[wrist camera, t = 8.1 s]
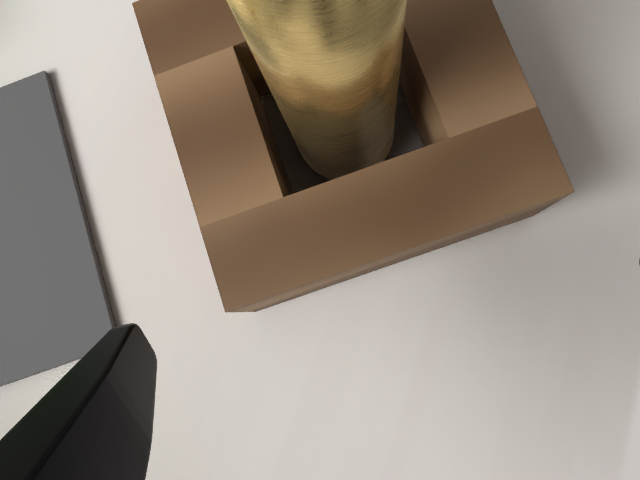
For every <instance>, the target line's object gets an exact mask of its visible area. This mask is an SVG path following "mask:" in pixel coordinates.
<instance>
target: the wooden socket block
mask: <svg viewBox="0 0 640 480" xmlns="http://www.w3.org/2000/svg"><path fill="white" fill-rule="evenodd" d="M132 4H133V8H134V11H135V14H136V18H137V21H138V24H139V28H140V31H141V34H142V37H143V41H144V44H145V47H146V51H147V54H148V57H149V61H150V64H151V67H152V71H153V74H154V77H155V81H156V84H157V87H158V91H159V94H160V97H161V100H162V104H163V107H164V110H165V114H166V117H167V120H168V124H169V127H170V130H171V134H172V137H173V140H174V144H175V147H176V150H177V153H178V157H179V160H180V163H181V167H182V170H183V173H184V177H185V180H186V183H187V187H188V190H189V193H190V197H191V200H192V203H193V207H194V210H195V213H196V216H197V220H198V223H199V226H200V230H201V233H202V236H203V240H204V243H205V246H206V250H207V253H208V256H209V260H210V263H211V266H212V270H213V273H214V276H215V279H216V283H217V286H218V289H219V293H220V296H221V299H222V303H223V306H224V309H225V312H256V311H259V310H262V309H265V308H267V307H270V306H273V305H276V304H279V303H282V302H285V301H288V300H291V299H294V298H296V297H299V296H302V295H305V294H308V293H311V292H314V291H317V290H320V289H323V288H325V287H328V286H331V285H334V284H337V283H340V282H343V281H346V280H349V279H351V278H354V277H357V276H360V275H363V274H366V273H369V272H372V271H375V270H378V269H380V268H383V267H386V266H389V265H392V264H395V263H398V262H401V261H404V260H406V259H409V258H412V257H415V256H418V255H421V254H424V253H427V252H430V251H433V250H435V249H438V248H441V247H444V246H447V245H450V244H453V243H456V242H459V241H462V240H464V239H467V238H470V237H473V236H476V235H479V234H482V233H485V232H488V231H490V230H493V229H496V228H499V227H502V226H505V225H508V224H511V223H514V222H517V221H519V220H522V219H525V218H528V217H531V216H534V215H535V214H537V213H539V212H540V211H542V210H544V209H545V208H547V207H549V206H550V205H552V204H554V203H556V202H557V201H559V200H561V199H562V198H564V197H566V196H567V195H569V194H571V193H573V192H574V190H573V187H572V185H571V183H570V180H569V178H568V176H567V173H566V171H565V169H564V167H563V164H562V162H561V160H560V157H559V155H558V153H557V150H556V148H555V146H554V143H553V141H552V139H551V137H550V134H549V132H548V130H547V127H546V125H545V123H544V120H543V118H542V116H541V113H540V111H539V109H538V106H537V104H536V102H535V100H534V97H533V95H532V93H531V90H530V88H529V86H528V83H527V81H526V79H525V76H524V74H523V72H522V70H521V67H520V65H519V63H518V60H517V58H516V56H515V53H514V51H513V49H512V46H511V44H510V42H509V40H508V37H507V35H506V33H505V30H504V28H503V26H502V23H501V21H500V19H499V16H498V14H497V12H496V10H495V7H494V5H493V3H492V0H407V7H406V17H405V26H404V36H403V46H402V56H401V66H400V76H399V83H400V86H401V88H402V91H403V94H404V96H405V99H406V101H407V104H408V107H409V109H410V112H411V114H412V117H413V119H414V122H415V125H416V127H417V130H418V132H419V135H420V137H421V140H422V143H423V145H424V147H422V148H420V149H417V150H414V151H411V152H409V153H406V154H403V155H400V156H397V157H395V158H392V159H389V160H386V161H383V162H381V163H378V164H375V165H372V166H369V167H367V168H364V169H361V170H358V171H355V172H353V173H350V174H347V175H344V176H341V177H339V178H336V179H333V180H330V181H327V182H325V183H322V184H319V185H316V186H314V187H311V188H308V189H305V190H302V191H300V192H297V193H294V194H293V193H292V190H291V187H290V184H289V181H288V178H287V175H286V172H285V169H284V166H283V163H282V160H281V157H280V154H279V151H278V148H277V145H276V142H275V139H274V136H273V133H272V131H271V128H270V125H269V122H268V119H267V116H266V113H265V110H264V107H263V104H262V101H261V98H260V96H261V95H264V94H267V93H269V92H271V91H270V89H269V87H268V85H267V83H266V81H265V79H264V77H263V75H262V72H261V70H260V68H259V66H258V64H257V62H256V60H255V58H254V56H253V54H252V52H251V50H250V48H249V46H248V44H247V42H246V39H245V37H244V35H243V33H242V31H241V29H240V27H239V25H238V23H237V21H236V19H235V17H234V15H233V13H232V11H231V9H230V7H229V4H228V2H227V0H139V1H137V2H134V3H132Z"/></svg>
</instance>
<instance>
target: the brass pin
mask: <svg viewBox="0 0 640 480" xmlns="http://www.w3.org/2000/svg"><path fill="white" fill-rule="evenodd" d="M227 2H228V4H229V7H230V9H231V11H232V13H233V15H234V17H235V19H236V21H237V23H238V25H239V27H240V29H241V31H242V33H243V35H244V37H245V39H246V42H247V44H248V46H249V48H250V50H251V52H252V54H253V56H254V58H255V60H256V62H257V64H258V66H259V68H260V70H261V72H262V75H263V77H264V79H265V81H266V83H267V85H268V87H269V89H270V91H271V93H272V95H273V97H274V99H275V101H276V103H277V105H278V107H279V110H280V112H281V114H282V116H283V118H284V120H285V122H286V124H287V126H288V128H289V130H290V132H291V134H292V136H293V138H294V140H295V143H296V145H297V147H298V149H299V151H300V153H301V155H302V157H303V158H304V160H305V162H306V163H307V164H308V165H309V166H310V167H311V168H312V169H313V170H314V171H315V172H317V173H318V174H320V175H322V176H324V177H326V178H329V179H336V178H339V177H341V176H344V175H347V174H350V173H353V172H355V171H358V170H361V169H364V168H367V167H369V166H372V165H375V164H378V163H381V162H383V161H384V160H385V159H386V157H387V156H388V154H389V151H390V149H391V146H392V143H393V135H394V126H395V116H396V106H397V96H398V86H399V76H400V66H401V56H402V46H403V36H404V26H405V17H406V7H407V0H227Z"/></svg>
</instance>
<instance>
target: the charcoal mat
mask: <svg viewBox="0 0 640 480" xmlns="http://www.w3.org/2000/svg"><path fill="white" fill-rule="evenodd" d="M113 327H116V326H115V323H114V319H113V315H112V311H111V308H110V304H109V300H108V296H107V292H106V289H105V285H104V281H103V277H102V273H101V270H100V266H99V262H98V258H97V255H96V251H95V247H94V243H93V239H92V236H91V232H90V228H89V224H88V221H87V217H86V213H85V209H84V205H83V202H82V198H81V194H80V190H79V186H78V183H77V179H76V175H75V171H74V168H73V164H72V160H71V156H70V152H69V149H68V145H67V141H66V137H65V134H64V130H63V126H62V122H61V118H60V115H59V111H58V107H57V103H56V100H55V96H54V92H53V88H52V84H51V81H50V77H49V74H48V73H47V72H45V71H42V72H40V73H37V74H35V75H32V76H29V77H27V78H24V79H22V80H19V81H16V82H14V83H11V84H9V85H6V86H3V87H1V88H0V386H3V385H6V384H9V383H12V382H14V381H17V380H20V379H23V378H26V377H29V376H32V375H35V374H37V373H40V372H43V371H46V370H49V369H52V368H55V367H58V366H61V365H63V364H66V363H69V362H72V361H75V360H78V359H81V358H82V357H83V356H84V355H85V354H86V353H87V352H88V351H89V350H90V349H91V348H92V347H93V346H94V345H95V344H96V343H97V342H98V341H99V340H100V339H101V338H102V337H103V336H104V335H105V334H106V333H107V332H108V331H109V330H110V329H112V328H113Z"/></svg>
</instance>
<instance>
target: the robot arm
mask: <svg viewBox="0 0 640 480" xmlns="http://www.w3.org/2000/svg"><path fill="white" fill-rule="evenodd" d="M639 263H640V261H639ZM156 374H157V359H156V355H155V352H154V350H153V349H152V347H151V345H150V344H149V342H148V340H147V338H146V337H145V335H144V333H143V332H142V330H141V328H140V327H139V326H138V325H137V324H134V323H130V324H125V325H120V326H116V327H113V328H112V329H110V330H109V331H108V332H107V333H106V334H105V335H104V336H103V337H102V338H101V339H100V340H99V341H98V342H97V343H96V344H95V345H94V346H93V347H92V348H91V349H90V350H89V351H88V352H87V353H86V354H85V355H84V356H83V357H82V359H81V360H80V361H79V362H78V363H77V364H76V365H75V366H74V367H73V368H72V369H71V370H70V371H69V372H68V373H67V374H66V375H65V376H64V377H63V378H62V379H61V380H60V381H59V382H58V383H57V384H56V385H55V386H54V387H53V388H52V389H51V390H50V391H49V392H48V393H47V394H46V395H45V396H44V397H43V398H42V399H41V400H40V401H39V402H38V403H37V404H36V405H35V406H34V407H33V408H32V409H31V410H30V411H29V412H28V413H27V414H26V415H25V416H24V417H23V418H22V419H21V420H20V421H19V422H18V423H17V424H16V425H15V426H14V427H13V428H12V429H11V430H10V431H9V432H8V433H7V434H6V435H5V436H4V437H3V438H2V439H1V440H0V480H145V478H146V472H147V466H148V461H149V455H150V449H151V442H152V432H153V419H154V404H155V389H156Z"/></svg>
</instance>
